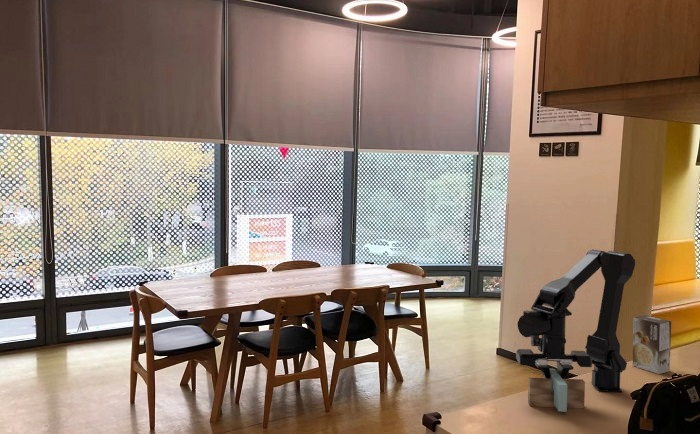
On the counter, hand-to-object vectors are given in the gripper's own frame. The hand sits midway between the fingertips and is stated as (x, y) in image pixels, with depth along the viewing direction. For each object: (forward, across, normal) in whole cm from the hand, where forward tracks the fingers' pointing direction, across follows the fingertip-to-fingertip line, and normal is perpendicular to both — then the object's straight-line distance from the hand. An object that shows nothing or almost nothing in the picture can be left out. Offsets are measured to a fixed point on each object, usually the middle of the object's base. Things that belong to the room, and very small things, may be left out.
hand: (552, 388), depth 147 cm
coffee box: (+4, -38, -28) cm, 48 cm away
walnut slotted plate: (+3, 0, +4) cm, 5 cm away
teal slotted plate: (+2, 0, +4) cm, 4 cm away
